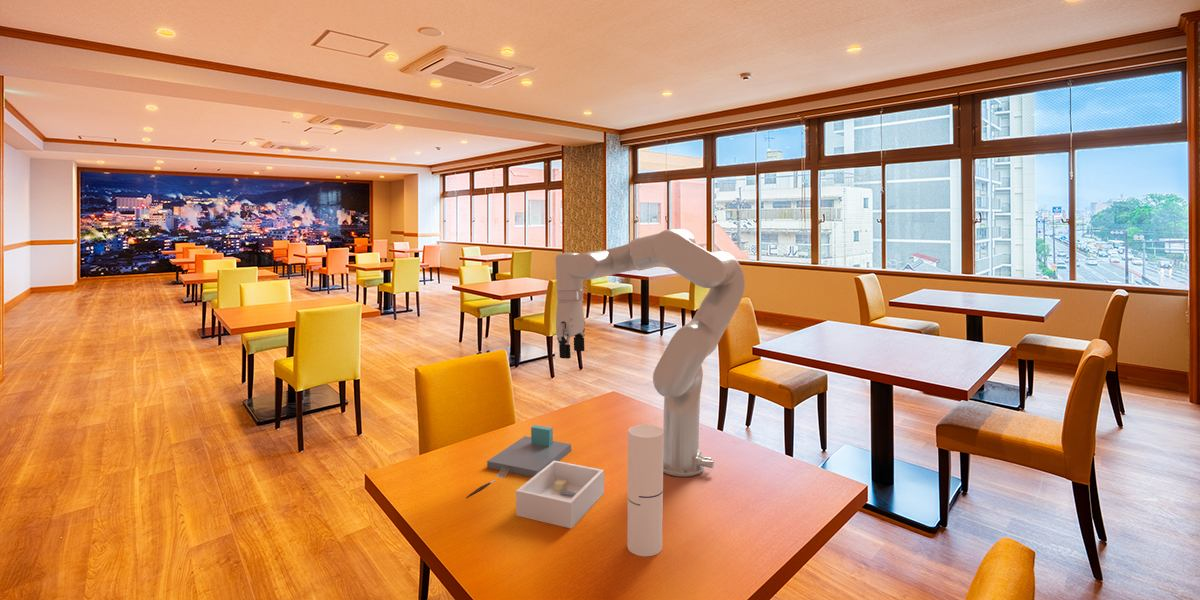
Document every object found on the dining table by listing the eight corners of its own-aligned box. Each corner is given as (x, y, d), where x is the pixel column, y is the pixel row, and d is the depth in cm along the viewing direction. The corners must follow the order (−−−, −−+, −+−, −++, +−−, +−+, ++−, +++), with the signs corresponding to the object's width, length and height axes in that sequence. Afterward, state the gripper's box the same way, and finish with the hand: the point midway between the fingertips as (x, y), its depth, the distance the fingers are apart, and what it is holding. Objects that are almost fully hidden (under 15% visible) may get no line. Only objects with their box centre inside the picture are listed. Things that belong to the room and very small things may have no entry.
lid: (571, 450, 169) (571, 427, 168) (537, 478, 152) (537, 452, 151) (524, 442, 176) (524, 420, 174) (487, 467, 158) (486, 443, 157)
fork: (461, 498, 142) (461, 491, 141) (502, 473, 155) (502, 466, 155) (470, 501, 140) (469, 493, 140) (510, 475, 154) (510, 468, 154)
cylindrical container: (660, 558, 116) (661, 438, 113) (624, 554, 118) (625, 436, 114) (663, 539, 123) (665, 425, 119) (630, 535, 124) (630, 423, 121)
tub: (604, 493, 143) (604, 470, 143) (571, 528, 127) (570, 502, 126) (554, 482, 149) (553, 460, 148) (516, 515, 133) (515, 490, 132)
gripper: (570, 292, 176) (573, 347, 178) (544, 299, 160) (547, 360, 162) (593, 292, 173) (595, 348, 175) (569, 300, 157) (571, 362, 159)
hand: (572, 354), depth 169 cm, fingers open, 9 cm apart
